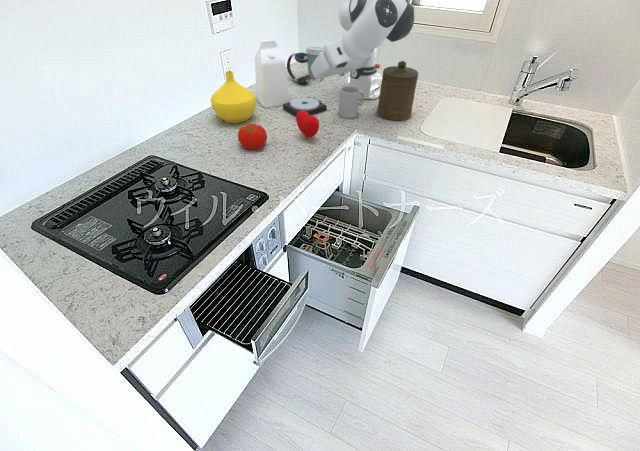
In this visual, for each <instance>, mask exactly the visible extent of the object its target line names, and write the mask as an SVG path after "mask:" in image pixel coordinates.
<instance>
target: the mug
mask: <svg viewBox="0 0 640 451" xmlns="http://www.w3.org/2000/svg"><path fill="white" fill-rule="evenodd" d="M360 94H361V99H359V95H360ZM364 101H365V99H364V92H363V91H360V89H359V88H357V87H354V86H348V85H345V86H341V87H340V88H339V102H338V115H339V117H341V118H345V119H354V118H356V117H358V114H359V107H361V106H363V104H364Z"/></svg>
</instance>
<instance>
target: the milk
mask: <svg viewBox="0 0 640 451" xmlns="http://www.w3.org/2000/svg"><path fill="white" fill-rule="evenodd" d="M254 72H255V89H256V101H258V102H259V103H260V105H261V106H262V107H263V108H264V109H266V108H273V107H279V106H283V104H285V103H289V102H290V100H289V89H288V79H287V65H286V60H285V57H284V56H283V54H282V52H281V50H280V47H279V45H278V43H277V41H276V40H275V39H267V40H266V39H265V40H261V41H260V43H259V46H258V49H257V52H256V53H255V56H254Z"/></svg>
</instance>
